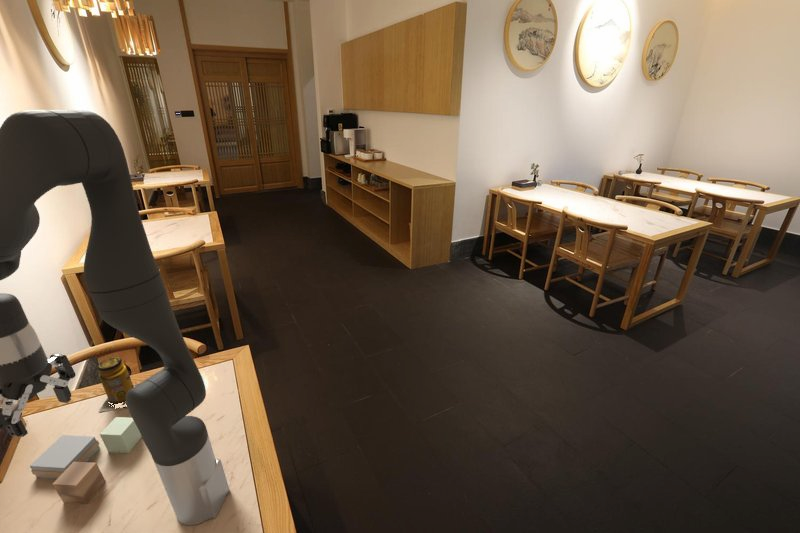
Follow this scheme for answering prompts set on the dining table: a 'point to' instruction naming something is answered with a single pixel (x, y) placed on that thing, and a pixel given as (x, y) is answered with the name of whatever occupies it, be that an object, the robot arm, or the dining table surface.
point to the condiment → (114, 382)
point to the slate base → (64, 455)
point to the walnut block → (79, 482)
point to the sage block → (120, 435)
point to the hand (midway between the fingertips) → (44, 417)
